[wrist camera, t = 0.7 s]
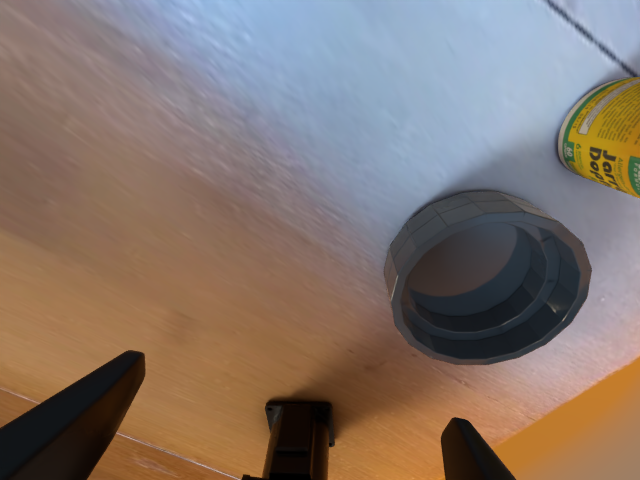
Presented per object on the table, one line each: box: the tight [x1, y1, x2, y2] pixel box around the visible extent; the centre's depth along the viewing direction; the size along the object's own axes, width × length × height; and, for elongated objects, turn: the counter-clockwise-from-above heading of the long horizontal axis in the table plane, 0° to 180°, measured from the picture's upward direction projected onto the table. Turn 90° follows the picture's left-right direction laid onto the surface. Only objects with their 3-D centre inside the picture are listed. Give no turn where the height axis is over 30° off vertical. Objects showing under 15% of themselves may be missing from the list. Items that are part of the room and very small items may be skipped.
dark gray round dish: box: [384, 191, 592, 365], centre depth 20 cm, size 11×11×4 cm
